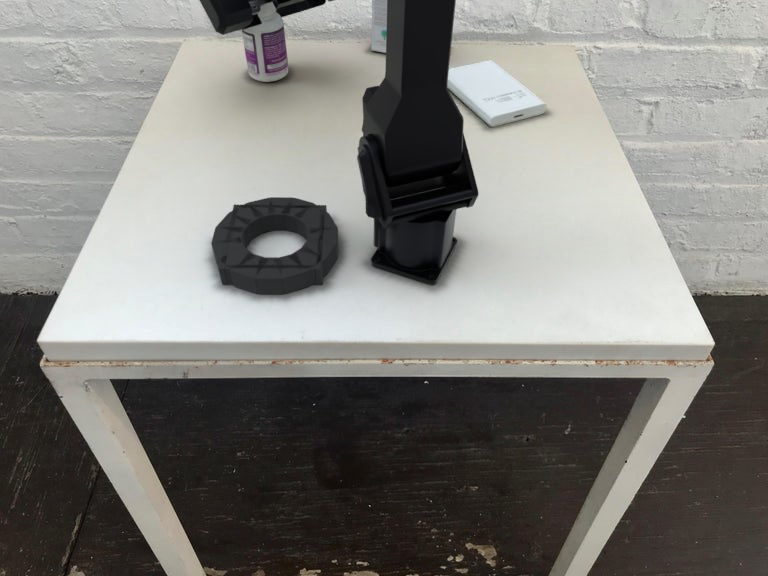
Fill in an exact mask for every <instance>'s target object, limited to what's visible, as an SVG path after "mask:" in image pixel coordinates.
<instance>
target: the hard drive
mask: <svg viewBox="0 0 768 576" xmlns="http://www.w3.org/2000/svg"><path fill="white" fill-rule="evenodd" d="M447 88H448V90H449V91H450V92H452V93H453V94H454V95H455V96H456V97H457V98H458V99H459V100H460V101H461V102H463V103H464V104H465V105H466V106H467V107H468V108H469V109H470V110H471V111H473V112H474V114H476V115H477V116H478V117H479V118H480V119H481V120H482V121H484V122H485V123H486V124H487V125H488V126H489V127H492V128H494V127H498V126H502V125H506V124H511V123H513V122H517V121H522V120H525V119H528V118H533V117H537V116H540V115H543V114H544V113H545V112H546V111H547V110H546V109H547V106H548V104H547V103H546V102H545V101H544V100H543V99H541V98H540V97H539V96H538V95H536V94H535V93H533V92H532V91H531V90H530V89H529V88H527V87H526V86H525V85H523V84H522V83H521V82H520V81H518V80H517V78H514V77H513V76H512V75H511V74H510V73H509V72H507V71H506V70H504V68H502V67H501V66H499V65H498V64H497V63H496V62H494V60H490V59H489V60H485V61H480V62H475V63H471V64H466V65H461V66H456V67H453V68H449V73H448V87H447Z"/></svg>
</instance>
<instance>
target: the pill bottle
mask: <svg viewBox="0 0 768 576" xmlns="http://www.w3.org/2000/svg"><path fill="white" fill-rule="evenodd" d="M258 16H259V18H260V20H261V22H262V24H260V25H257V26H254V27H250V28H247V29H244V30H241V35H242V41H243V46H244V55H245V60H246V68H247V72H248V75H249V77H251V79H253V80H256V81H259V82H264V83H269V82H276V81H280V80H282V79H284V78H285V77H286V76H287V75H288V73H289V60H288V53H287V44H286V43H287V41H286V34H285V32H286V31H285V24H284V20H283V17H281V16H280V15H279V14H278V13H276V8H275V6H274V4H273V3H271V4H267V5H264V6H261V10H260V12H259V13H258Z"/></svg>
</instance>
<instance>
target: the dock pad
mask: <svg viewBox="0 0 768 576" xmlns="http://www.w3.org/2000/svg"><path fill="white" fill-rule="evenodd" d="M327 209H328V207H327V205H326V204H316V203H314V202H311V201H307V200H303V199H301V198H296V197H292V196H291V197H289V196H288V197H287V196H285V197H283V196H281V197H279V196H278V197H275V196H274V197H271V196H270V197H265V198H261V199H257V200H252V201H248V202H246V203H244V204H233V207H232V210H231V211H229V212H228V213H227V214H226V215H225V216H224V217H223V219H222V220H221V221H219V223H218V224H217V225H216V226H215V228H214V232H213V235H212V239H211V243H210V244H211V247H212V252H213V256H214V260H215V263H216V266H217V270H218V273H219V278H220V281H221V285H232V286H234V287H235V288H237V289H241V290H243V291H247V292H250V293H253V294H256V295H285V294H289V293H293V292H296V291H300V290H304V289H306V288H309V287H311V286H312V285H314V286H315V285H317V286H319V285H320V286H321V285H322V286H323V284H324V283H323V282H324V277H326V276H327V275H328V274H329V272H330V271H331V269H332V268H333V266H334V265H335V263H336V261H337V260H338V254H339V253H338V251H339V233H338V232H339V231H338V227H337V224H336V223H335V221H334V219H333V217H332V216H331V214H330V213H329V212H328V210H327ZM272 231H288V232H293V233H296V234H298V235H300V236H301V237H302V238H304V239H305V240H306V241H305V243H304V244H303V245H302V246H301V248H299V249H297V250H295V251H294V252H292V253H291V254H286V255H283V256H278V257H277V256H275V257H273V256H272V257H267V256H265V257H264V256H261V255H258V254H255V253H253V252H251V251H250V250H249V249H248V248H247V246H248V245H249V244H250V243H251V241H252V240H253V239H254V238H257V237H259V236H260V235H262V234H264V233H268V232H272Z"/></svg>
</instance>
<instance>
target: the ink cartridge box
mask: <svg viewBox="0 0 768 576" xmlns="http://www.w3.org/2000/svg"><path fill="white" fill-rule="evenodd" d="M386 33H387V0H371V47H370V50H371V51H373V52H379V53H383V54H386Z"/></svg>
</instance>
